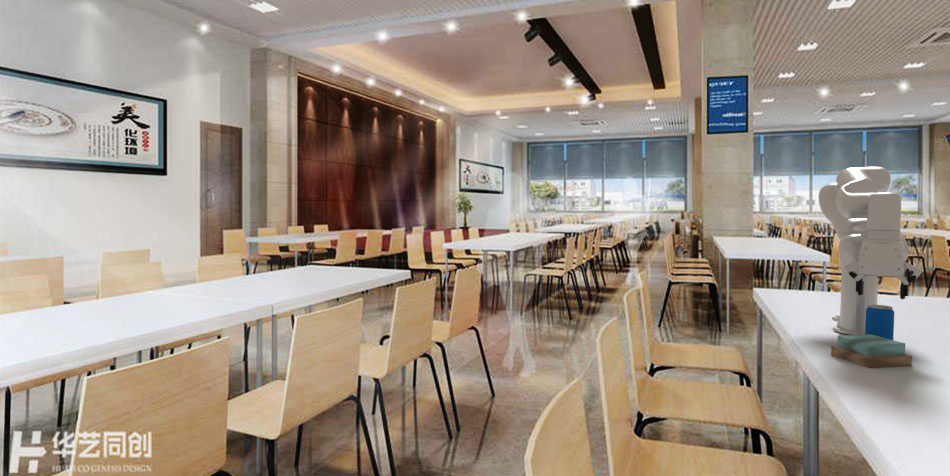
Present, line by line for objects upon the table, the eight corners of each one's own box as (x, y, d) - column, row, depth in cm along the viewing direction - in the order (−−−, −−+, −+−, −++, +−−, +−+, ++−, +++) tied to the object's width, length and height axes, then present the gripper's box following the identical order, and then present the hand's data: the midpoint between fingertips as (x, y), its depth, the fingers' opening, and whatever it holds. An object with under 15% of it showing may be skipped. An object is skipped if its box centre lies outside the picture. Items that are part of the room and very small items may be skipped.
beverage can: (898, 351, 147) (899, 308, 146) (871, 350, 148) (873, 308, 148) (884, 345, 153) (886, 304, 153) (859, 344, 155) (861, 304, 154)
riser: (831, 354, 144) (831, 335, 144) (869, 352, 146) (870, 333, 145) (870, 368, 132) (871, 346, 132) (911, 365, 134) (912, 344, 134)
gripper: (843, 236, 153) (841, 294, 153) (920, 237, 140) (918, 301, 141) (849, 235, 158) (847, 292, 158) (925, 237, 145) (922, 298, 146)
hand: (881, 296), depth 149 cm, fingers open, 9 cm apart
